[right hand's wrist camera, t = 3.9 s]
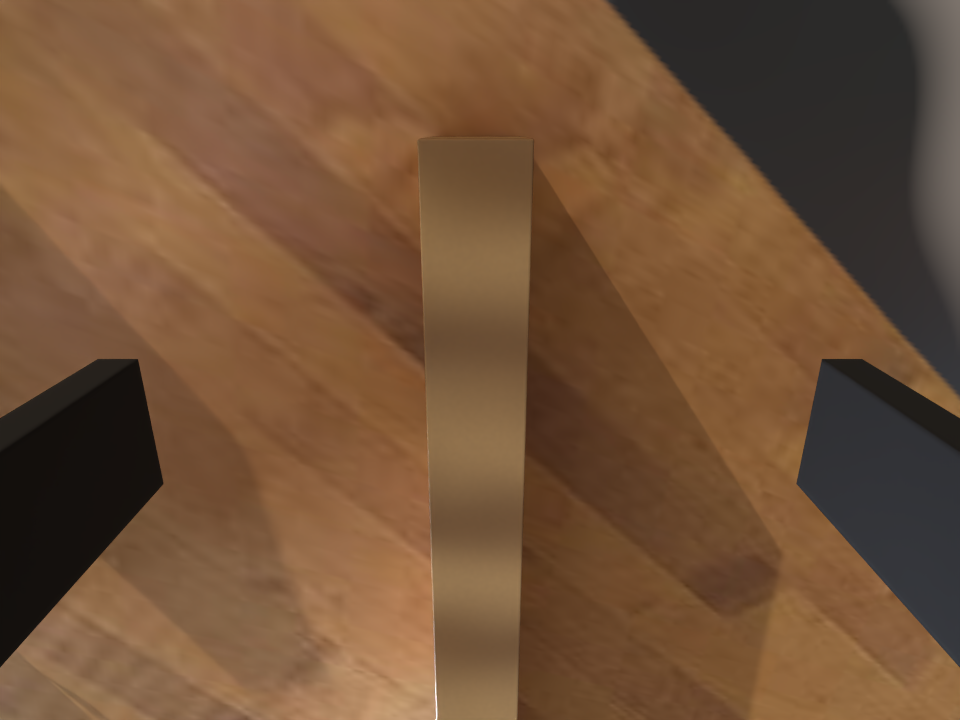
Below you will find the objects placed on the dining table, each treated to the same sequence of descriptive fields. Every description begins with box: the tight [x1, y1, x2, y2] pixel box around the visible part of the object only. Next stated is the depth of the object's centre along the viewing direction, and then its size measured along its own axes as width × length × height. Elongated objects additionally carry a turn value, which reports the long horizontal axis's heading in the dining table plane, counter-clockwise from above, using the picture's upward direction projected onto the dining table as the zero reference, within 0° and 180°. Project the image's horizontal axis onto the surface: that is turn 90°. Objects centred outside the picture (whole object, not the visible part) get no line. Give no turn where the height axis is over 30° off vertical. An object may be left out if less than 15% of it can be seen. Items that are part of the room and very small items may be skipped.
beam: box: [417, 137, 534, 720], centre depth 41 cm, size 72×5×8 cm, turn 0°
